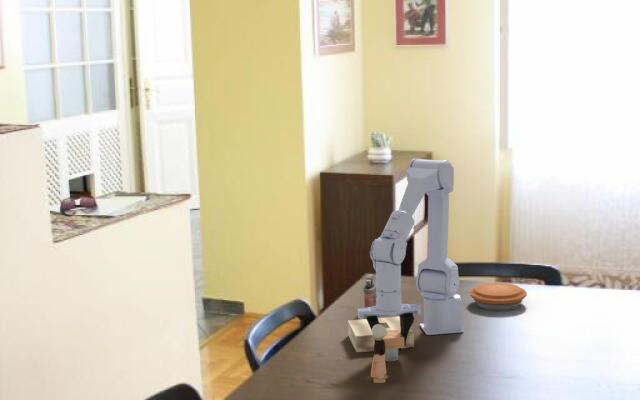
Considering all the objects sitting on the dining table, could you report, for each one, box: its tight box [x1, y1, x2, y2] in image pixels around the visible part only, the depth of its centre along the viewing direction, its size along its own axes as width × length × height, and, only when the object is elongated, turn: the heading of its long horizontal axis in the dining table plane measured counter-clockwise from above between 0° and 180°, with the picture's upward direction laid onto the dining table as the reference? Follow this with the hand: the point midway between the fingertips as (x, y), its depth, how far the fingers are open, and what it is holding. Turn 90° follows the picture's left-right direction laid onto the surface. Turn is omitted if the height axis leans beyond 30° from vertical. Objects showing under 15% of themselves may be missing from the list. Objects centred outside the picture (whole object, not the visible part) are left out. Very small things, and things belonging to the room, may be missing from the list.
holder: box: [347, 315, 415, 353], centre depth 220 cm, size 14×12×4 cm
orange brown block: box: [383, 330, 405, 362], centre depth 208 cm, size 5×5×6 cm
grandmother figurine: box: [370, 324, 388, 384], centre depth 195 cm, size 8×4×13 cm, turn 174°
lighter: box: [362, 273, 377, 308], centre depth 242 cm, size 8×3×10 cm, turn 168°
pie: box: [468, 282, 528, 312], centre depth 245 cm, size 15×16×5 cm
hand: (390, 345), depth 208 cm, fingers closed on orange brown block, 5 cm apart
